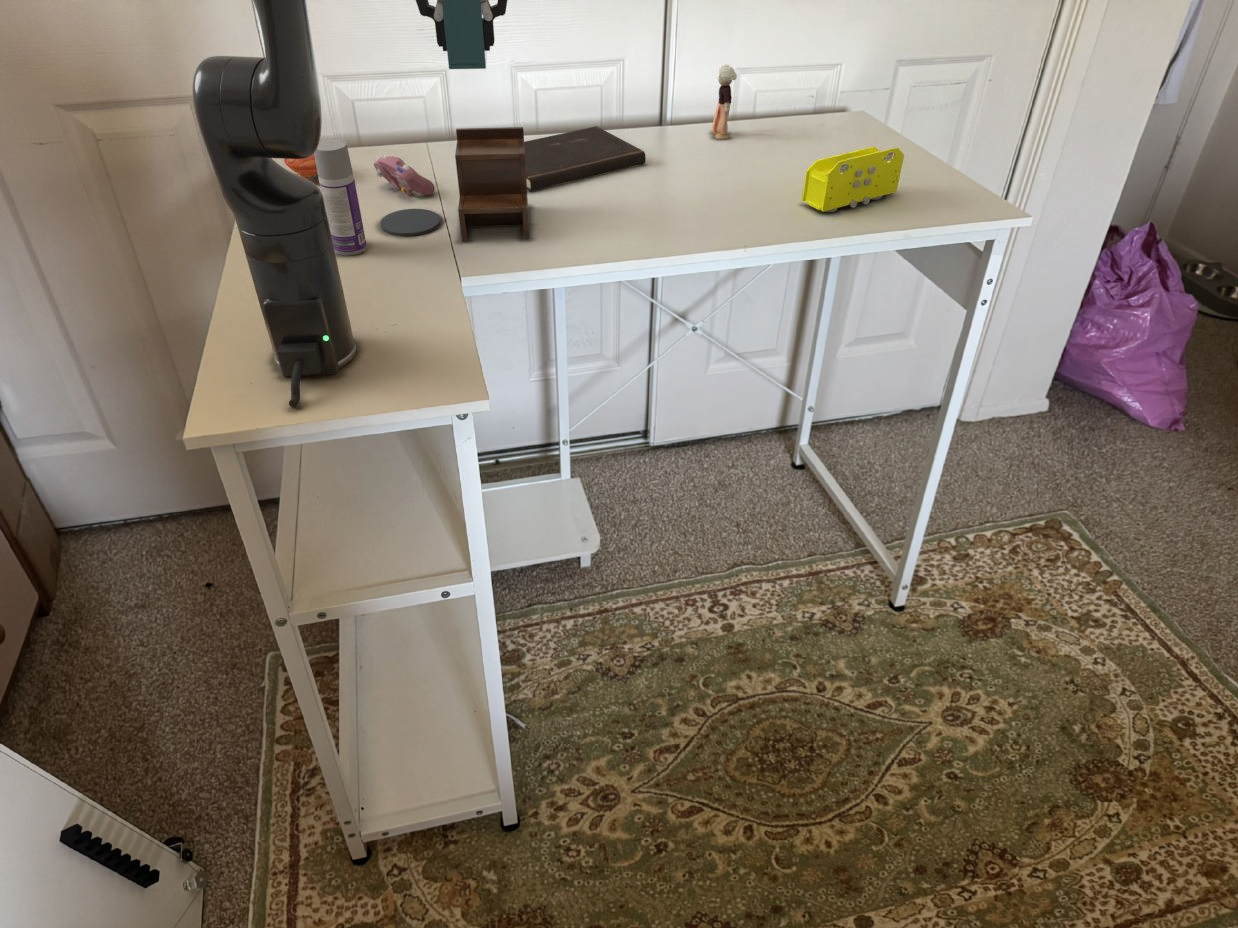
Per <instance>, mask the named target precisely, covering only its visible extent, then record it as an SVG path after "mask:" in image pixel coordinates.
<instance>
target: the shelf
mask: <svg viewBox="0 0 1238 928" xmlns="http://www.w3.org/2000/svg"><path fill="white" fill-rule="evenodd" d="M455 133H456V134H455V135H456V145H455V154H454V157H455V158H454V159H455V167H456V176H457V184H458V185H457V186H458V194H459V198H458V206H457V212H458V222H459V228H460V239H461V242H468V236H469V228H479V227H480V228H481V227H511V226H512V227H513V226H522V229H523V239H524V240H530V220H529V219H530V218H529V198H528V190H527V180H526V163H525V147H524V142H525V134H524V127H523V126H508V127H467V128H466V127H463V128H456V129H455Z"/></svg>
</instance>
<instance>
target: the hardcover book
mask: <svg viewBox="0 0 1238 928" xmlns="http://www.w3.org/2000/svg"><path fill="white" fill-rule="evenodd" d="M524 147H525V163H526V180H527V192H534V191H538V190H543V189H546V188H551V187H554V186H559V185H563V184H567V183H571V182H575V181H580V180H583V179H588V178H591V177H595V176H600V175H604V174H608V173H612V172H615V171H621V170H625V169H629V168H633V167H637V166H641V165H644V164H645V163H646V160H647V156H646V152H645V151H644V150H643V149H641V148H639V147H638V146H635V145H633V144H631V143H629V142H627V141H625V140H624V139H622V138H620V137H618V136H616V135H615V134H612V133H610V132H608V131H607V130H605V129H602V128H601V127H599V126H597V125H596V126H591V127H587V128H586V127H585V128H582V129H578V130H573V131H569V132H563V133H559V134H554V135H553V134H552V135H548V136H544V137H540V138H535V139H530V140H526V141H525V140H524Z"/></svg>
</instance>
